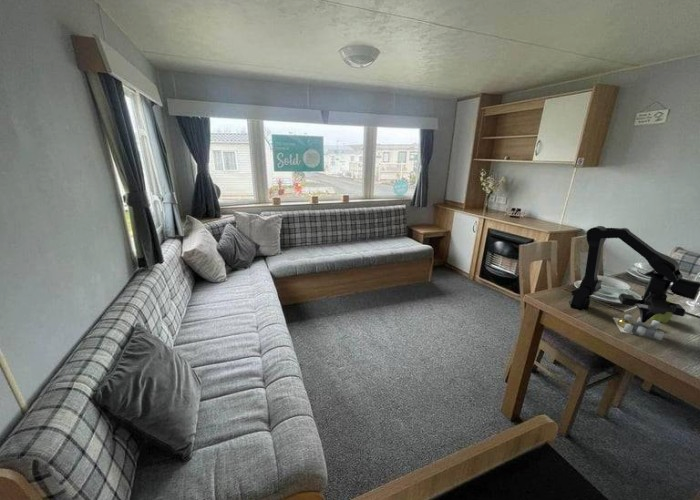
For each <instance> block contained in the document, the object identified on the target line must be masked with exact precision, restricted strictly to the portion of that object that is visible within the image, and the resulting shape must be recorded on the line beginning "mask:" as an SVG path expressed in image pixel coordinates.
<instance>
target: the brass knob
mask: <svg viewBox="0 0 700 500" xmlns="http://www.w3.org/2000/svg"><path fill="white" fill-rule="evenodd" d="M618 319H619V320H618V323H617V324H618V325H619V326H621V327H623V328H624V327H625V325H626V323H628V324H631V323H632V322H633V321H632V320H631V321H632V322H631V321H630V320H628V319H625V318H624V317H619V318H618ZM617 324H616V325H617Z"/></svg>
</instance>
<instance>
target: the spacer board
mask: <svg viewBox="0 0 700 500" xmlns="http://www.w3.org/2000/svg"><path fill="white" fill-rule="evenodd" d="M623 318H625V319H628V320H630V321H631V322H632V323H631V324H628V323H626V325H625V327H624V328H623V327H621V326H619V325H618V324H617V323H618V320H619V318H618V317H612V319H613V321H614V322H615V324H616V326H617V328H618V329H619V331H620V332H622V333H626V334H630V335H635V336H639V337H643V338H644V337H645V338H648V339H652V340H657V341H661V342H665V343H666V340H665V339H664V337H665V334H666V333H665V332H664V331H662V330H659V327H660V325H661V322H658V321H656V320H653V319H652V321H651V322H650V324H649V325H648V324H646V322H645V323H643V322H641V317H640V316H639V317H638V318H637V320H636V322H635V321H632V319H633V316H632V315H630V314H628V313H627V314H624V317H623Z"/></svg>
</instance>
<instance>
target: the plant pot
mask: <svg viewBox="0 0 700 500" xmlns="http://www.w3.org/2000/svg"><path fill="white" fill-rule="evenodd" d="M666 301H667V302H670V303H674V302H673V301H671V300H667V299H666ZM673 316H674V315H673V313H670V312H667V313H666V314H665V315H663V314H655V315H654V316H652V317H651V318H650V319H651V320H652V321H653V320H656V321H658V322H660V323H664V324H666V323H668V322H669V321H670V319H671V318H672V317H673Z"/></svg>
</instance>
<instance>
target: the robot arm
mask: <svg viewBox="0 0 700 500" xmlns="http://www.w3.org/2000/svg"><path fill="white" fill-rule="evenodd" d="M607 239H619V240H621V241H622V242H623V243H624V244H626V245H627V246H629V247H630V248H631V249H632V250H633V251H635V252H636V253H638V254H639V255H640V256H641V257H643V258H644V259H645V260H646V262H647V263H648V264H649V266H650V268H652V270H650V271H647V272H645V273H644V275H645V276H647V277H650V278H649V281H648V283H647V286H645V287H644V290H645V291H644V293H643V295H641V297H640V299H638V298H636V297H635V296H634V295H632V294H629V293H628V294H627V293H623V292H622V293H620V294H619V295H618V300H619V302H620V303H621V304H622V305H624V306H629V307H630V306H631V307H633V306H636V308H637V309H638V311H639V317H641V322H643V323H645V324H646V322H648V320H650V319H651V317H652V316H654V315H655V314H663V315H665V314H666V313H667V312H670V313H673V315H672V316H679V317H684V316H685V314H686V309H685V308H684V307H682V305H680V304H679V303H676V302H673V303H670V302H667V301H666V300H667V298H668V295H667V293H668V291H669V290H670V291H671V293H672V295H675V296H679V297H682V298H686V299H689V300H693V301H695V300H696V299H697V297H698V295H699V294H700V281H696V280H691V279H686V278H684V276H683V275H682V273H681V271H680V263H679V262H678V261H677V260H676V259H674V258H672V257H671V256H670V255H667V254H664V253H662V252H660V251H658V250H657V249H654V248H653V247H652V246H651V245H649V244H648V243H647V242H645V241H643V239H642V238H640V237H639V236H637V234H635V233H633V232H632V231H631V230H630V229H629V228H626V227H620V228H619V227H605V226H602V225H598V226H594V227H591V228H589V229H588V230H587V231H586V243H587V244H588V250H587V252H588V253H587V257H586V263H585V265H586V266H585V272H584V277H583V278H582V280H581V282H580V283H579V286H578V287H576V288H575V289H572V290H571V298H570V300H569V301H568V304H569V306H570V308H571V309H572V308H573V309H576V310H585V311H587V310H588V309H589V306H590V304H591V296H593V295H595V294H596V293H598V292H599V291H600V290H601V289H602V283H603V280H601V279H599V278H598V274H599V266H600V261H601V260H600V259H601V254H602V253H601V252H602V248H603V245H604V244H605V242H606V240H607ZM671 283H672V285H671ZM670 286H671V287H670Z"/></svg>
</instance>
